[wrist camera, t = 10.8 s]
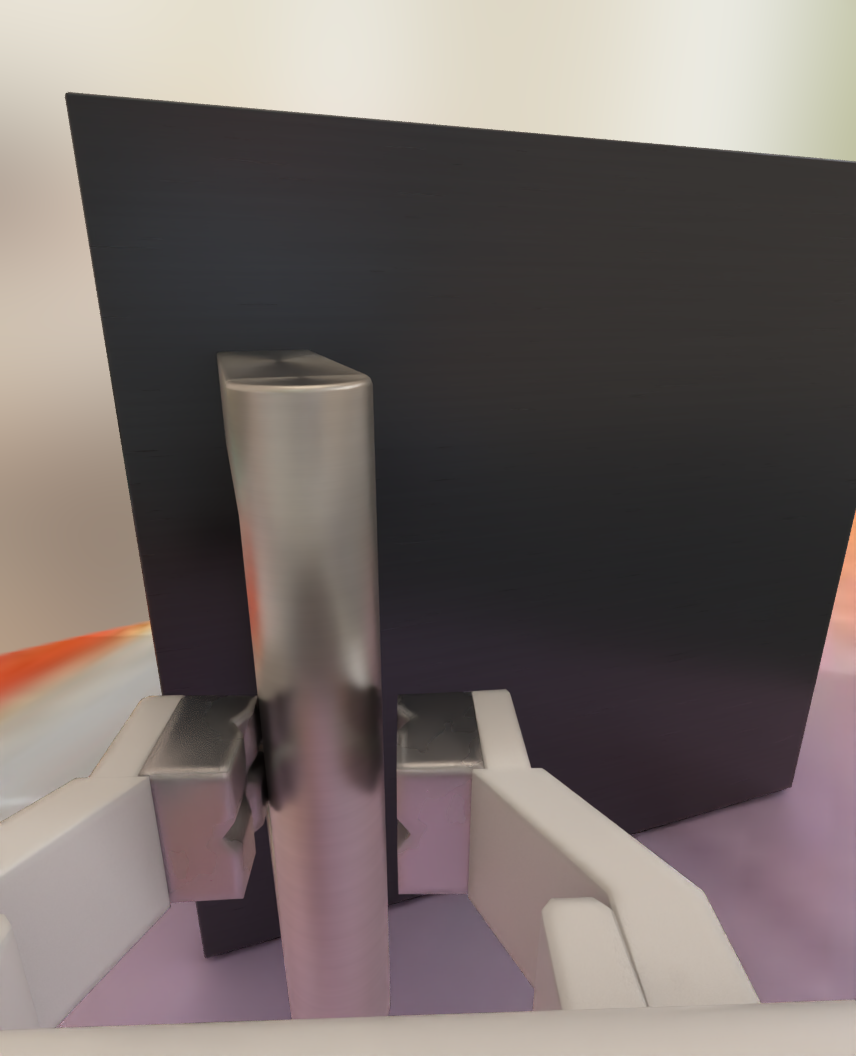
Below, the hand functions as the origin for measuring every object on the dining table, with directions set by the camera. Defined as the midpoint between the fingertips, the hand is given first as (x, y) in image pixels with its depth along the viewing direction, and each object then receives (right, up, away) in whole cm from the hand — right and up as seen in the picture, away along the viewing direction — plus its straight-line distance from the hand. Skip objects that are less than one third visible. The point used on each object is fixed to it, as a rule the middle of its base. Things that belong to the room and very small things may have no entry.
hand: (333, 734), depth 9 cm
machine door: (+5, -7, +7) cm, 11 cm away
